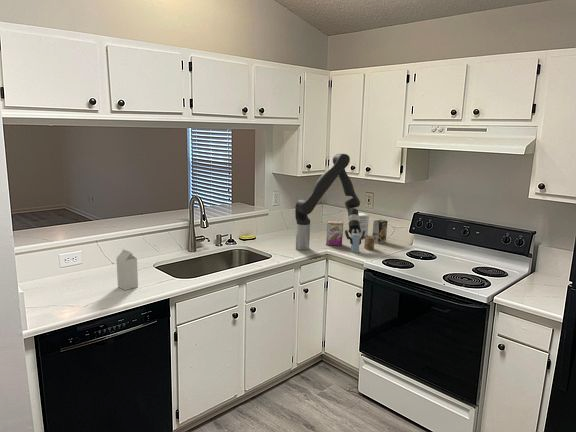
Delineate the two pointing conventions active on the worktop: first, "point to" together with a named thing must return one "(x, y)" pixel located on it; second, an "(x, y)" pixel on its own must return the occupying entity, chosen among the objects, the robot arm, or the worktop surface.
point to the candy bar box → (334, 233)
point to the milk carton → (127, 270)
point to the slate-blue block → (355, 242)
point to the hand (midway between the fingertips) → (355, 244)
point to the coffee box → (379, 231)
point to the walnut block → (369, 243)
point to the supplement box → (363, 223)
